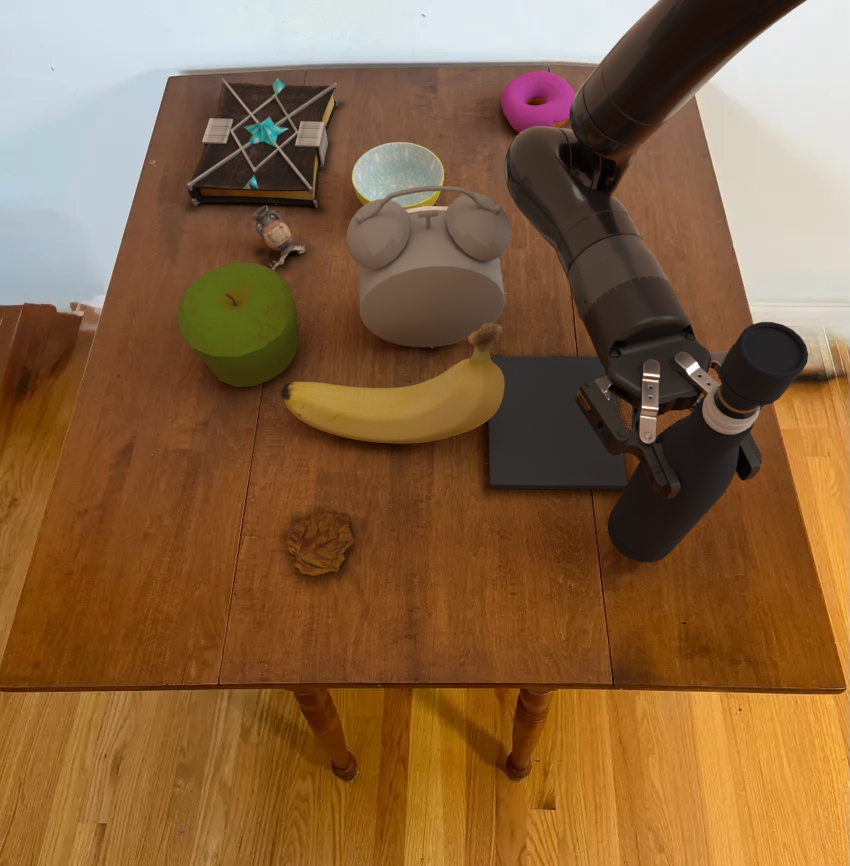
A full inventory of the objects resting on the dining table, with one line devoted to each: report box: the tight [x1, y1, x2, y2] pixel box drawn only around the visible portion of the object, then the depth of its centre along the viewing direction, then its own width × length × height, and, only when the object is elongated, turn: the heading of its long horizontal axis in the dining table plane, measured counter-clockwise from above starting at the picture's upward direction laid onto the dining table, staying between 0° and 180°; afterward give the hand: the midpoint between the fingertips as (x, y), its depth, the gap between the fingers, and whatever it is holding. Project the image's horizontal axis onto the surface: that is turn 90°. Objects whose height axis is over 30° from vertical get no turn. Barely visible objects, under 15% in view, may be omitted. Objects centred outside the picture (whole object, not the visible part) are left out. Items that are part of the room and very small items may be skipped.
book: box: [186, 77, 339, 209], centre depth 98 cm, size 22×17×5 cm
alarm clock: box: [345, 185, 512, 349], centre depth 75 cm, size 16×9×22 cm, turn 94°
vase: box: [251, 205, 307, 270], centre depth 88 cm, size 5×5×6 cm
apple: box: [176, 261, 299, 388], centre depth 78 cm, size 12×12×11 cm
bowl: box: [351, 141, 445, 210], centre depth 91 cm, size 11×12×6 cm
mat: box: [487, 356, 628, 491], centre depth 78 cm, size 14×16×1 cm
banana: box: [280, 322, 504, 445], centre depth 69 cm, size 23×6×20 cm, turn 84°
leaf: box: [285, 509, 355, 577], centre depth 71 cm, size 6×7×2 cm
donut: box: [500, 70, 576, 133], centre depth 100 cm, size 10×10×5 cm
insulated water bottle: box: [606, 321, 809, 564], centre depth 54 cm, size 6×6×30 cm
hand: (712, 484), depth 52 cm, fingers closed on insulated water bottle, 5 cm apart
